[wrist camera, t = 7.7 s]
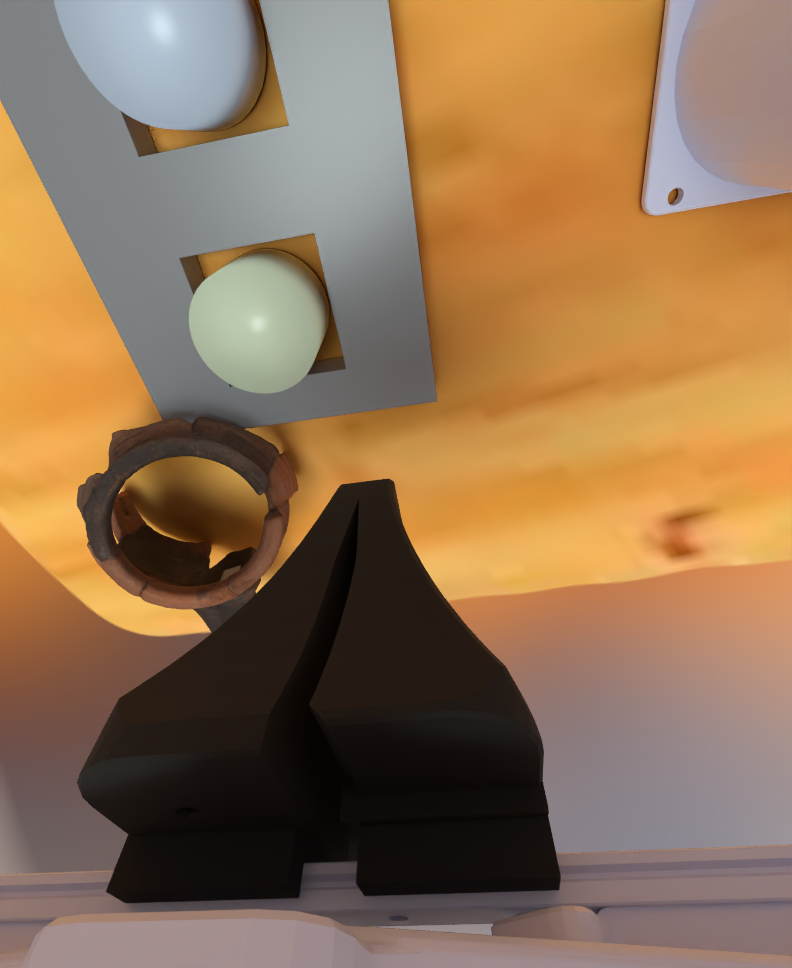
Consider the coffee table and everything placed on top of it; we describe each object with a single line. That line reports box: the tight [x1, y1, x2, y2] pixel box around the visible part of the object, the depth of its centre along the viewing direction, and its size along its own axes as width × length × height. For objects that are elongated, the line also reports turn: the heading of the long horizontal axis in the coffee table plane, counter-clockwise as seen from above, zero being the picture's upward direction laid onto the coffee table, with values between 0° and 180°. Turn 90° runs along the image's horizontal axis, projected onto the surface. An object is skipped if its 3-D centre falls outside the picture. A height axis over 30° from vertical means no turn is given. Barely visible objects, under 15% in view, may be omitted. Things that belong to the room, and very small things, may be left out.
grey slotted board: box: [0, 0, 437, 429], centre depth 14 cm, size 12×25×2 cm, turn 9°
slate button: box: [54, 0, 266, 132], centre depth 13 cm, size 4×4×3 cm
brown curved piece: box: [77, 417, 298, 633], centre depth 23 cm, size 12×9×8 cm
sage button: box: [189, 249, 329, 394], centre depth 18 cm, size 4×4×3 cm
